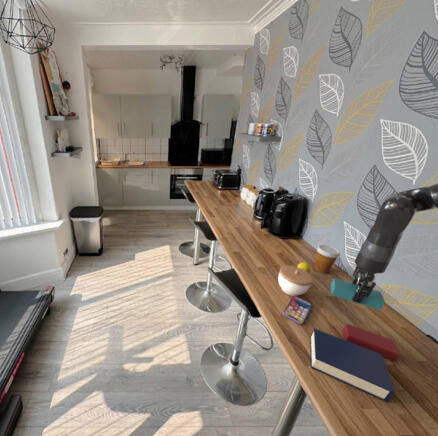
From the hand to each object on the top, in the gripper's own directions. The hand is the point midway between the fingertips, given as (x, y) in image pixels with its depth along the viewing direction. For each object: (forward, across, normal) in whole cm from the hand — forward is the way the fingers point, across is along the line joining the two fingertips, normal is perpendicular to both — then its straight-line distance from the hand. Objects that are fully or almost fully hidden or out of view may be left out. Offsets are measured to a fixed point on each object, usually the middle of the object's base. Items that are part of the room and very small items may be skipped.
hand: (354, 295), depth 81 cm
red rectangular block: (+15, -3, -8) cm, 18 cm away
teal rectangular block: (+1, 0, 0) cm, 1 cm away
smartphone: (+15, +1, +13) cm, 20 cm away
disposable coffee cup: (+15, +42, +4) cm, 44 cm away
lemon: (+15, +28, +13) cm, 35 cm away
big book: (+15, -18, 0) cm, 23 cm away
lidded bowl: (+15, +13, +17) cm, 26 cm away
